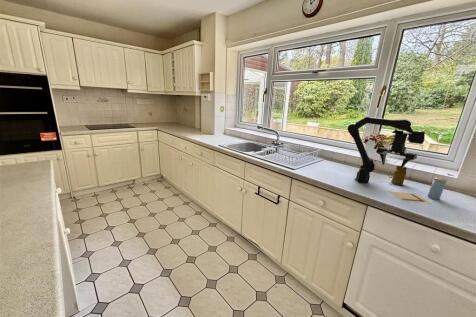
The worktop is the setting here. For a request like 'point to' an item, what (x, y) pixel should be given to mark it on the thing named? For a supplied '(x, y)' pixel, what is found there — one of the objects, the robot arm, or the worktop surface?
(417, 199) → the card
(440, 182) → the canister
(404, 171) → the condiment
